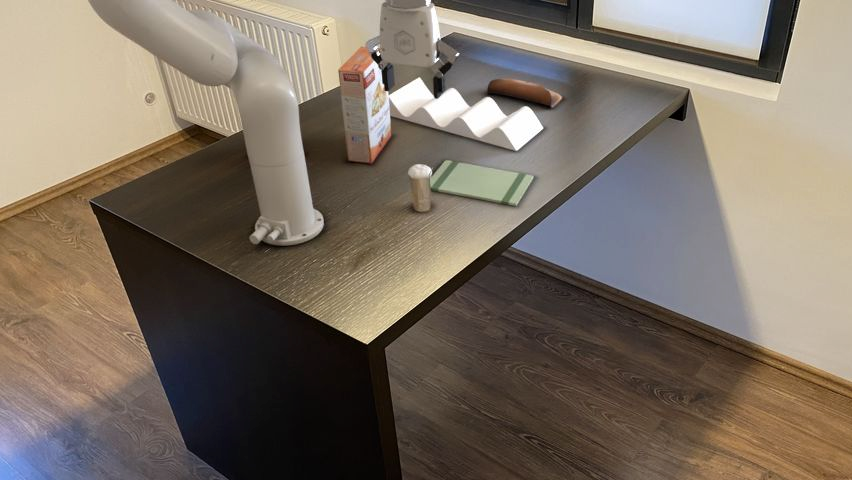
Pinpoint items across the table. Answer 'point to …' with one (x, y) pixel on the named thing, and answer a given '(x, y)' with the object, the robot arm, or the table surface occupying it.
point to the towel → (480, 182)
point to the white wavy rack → (464, 116)
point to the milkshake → (420, 186)
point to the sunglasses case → (524, 91)
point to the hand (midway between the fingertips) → (414, 92)
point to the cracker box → (364, 107)
